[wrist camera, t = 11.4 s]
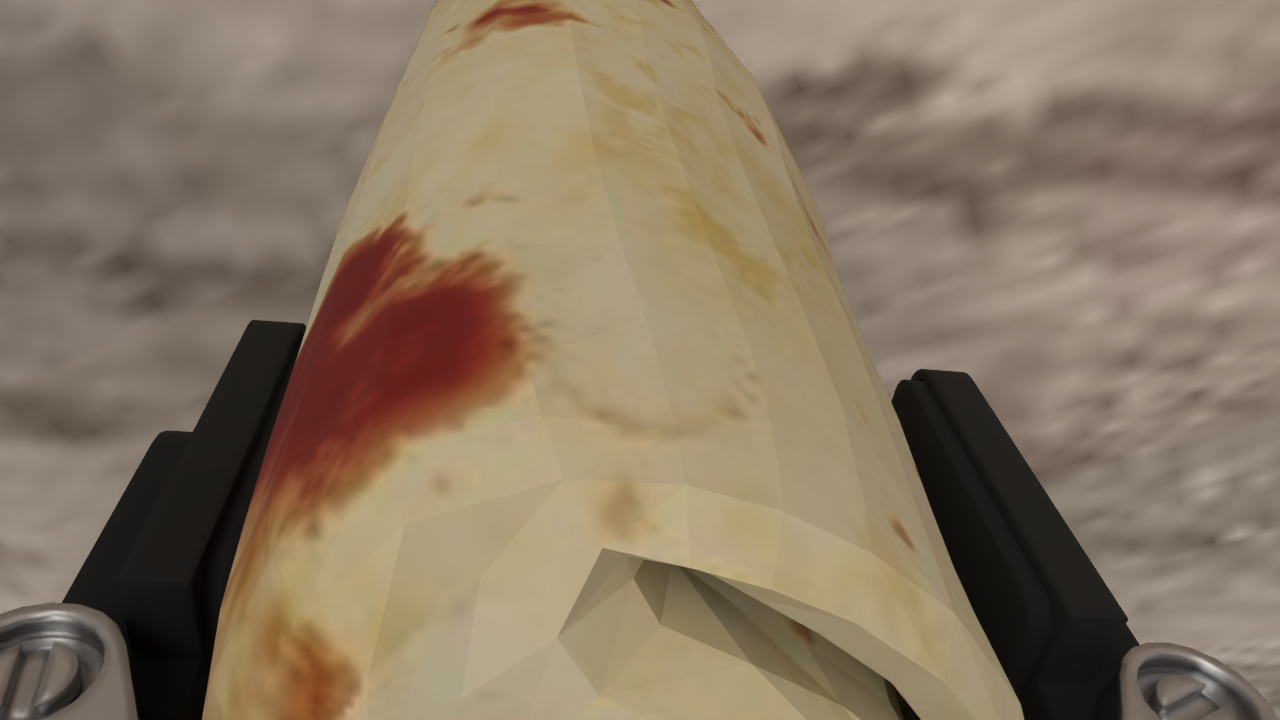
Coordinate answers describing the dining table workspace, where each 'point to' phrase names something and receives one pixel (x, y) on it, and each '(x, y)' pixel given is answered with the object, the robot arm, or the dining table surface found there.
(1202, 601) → the dining table surface
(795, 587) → the food model
